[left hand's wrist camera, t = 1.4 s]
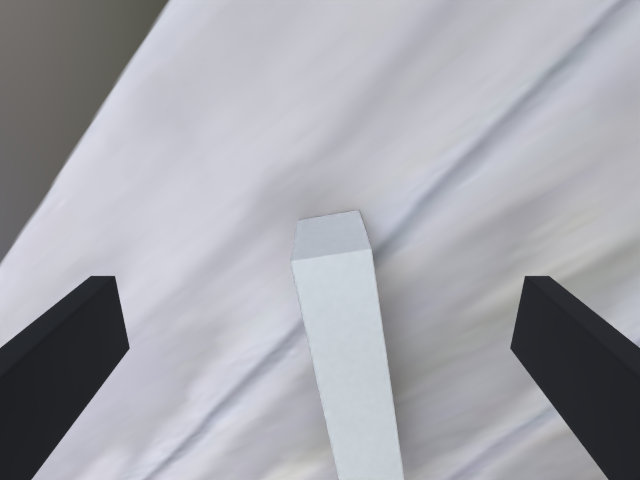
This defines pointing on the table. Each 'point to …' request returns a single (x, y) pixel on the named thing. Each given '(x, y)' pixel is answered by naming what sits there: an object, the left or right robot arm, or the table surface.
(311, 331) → the bar
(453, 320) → the table surface
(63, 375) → the left robot arm
